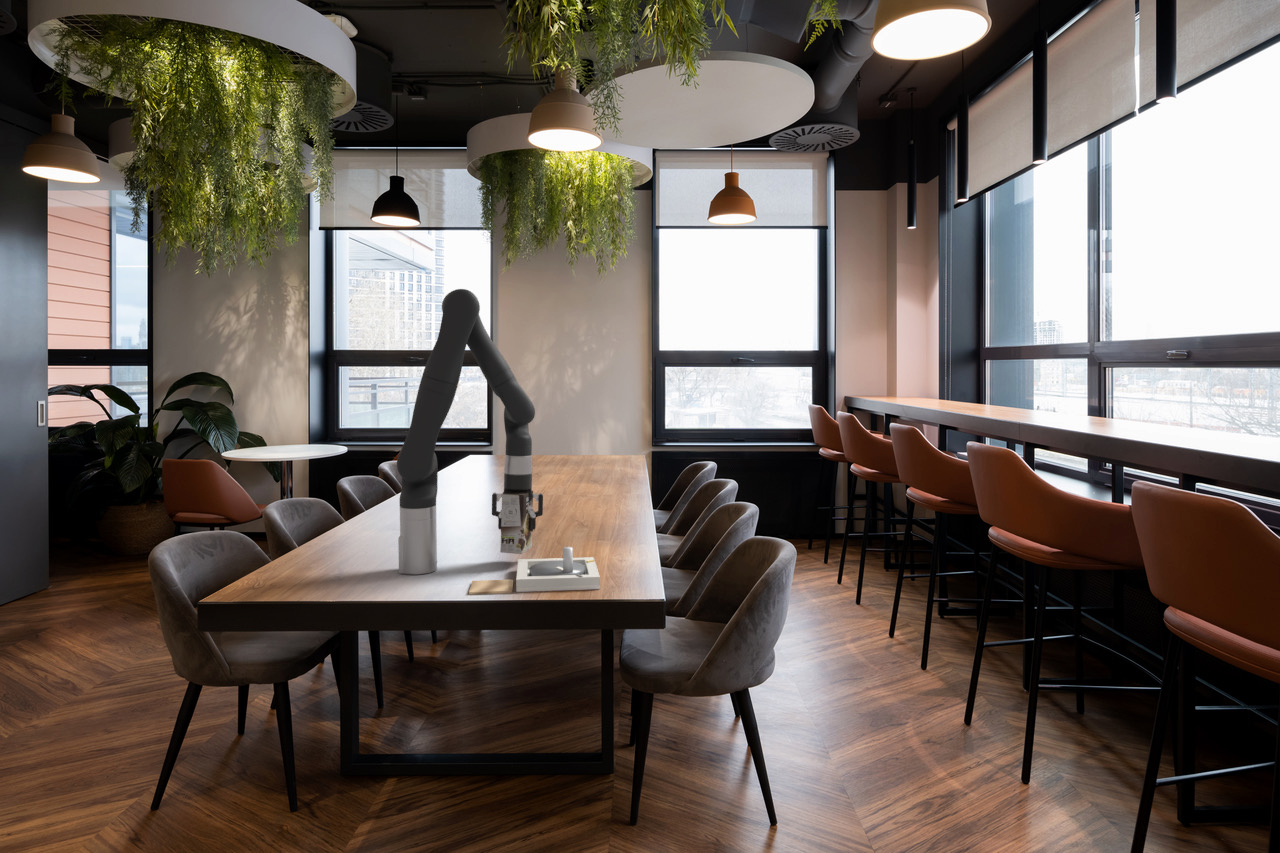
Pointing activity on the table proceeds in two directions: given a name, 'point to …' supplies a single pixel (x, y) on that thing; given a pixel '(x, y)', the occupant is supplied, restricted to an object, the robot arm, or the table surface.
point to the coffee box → (515, 523)
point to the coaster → (491, 587)
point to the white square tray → (557, 577)
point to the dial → (558, 566)
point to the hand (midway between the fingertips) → (516, 531)
